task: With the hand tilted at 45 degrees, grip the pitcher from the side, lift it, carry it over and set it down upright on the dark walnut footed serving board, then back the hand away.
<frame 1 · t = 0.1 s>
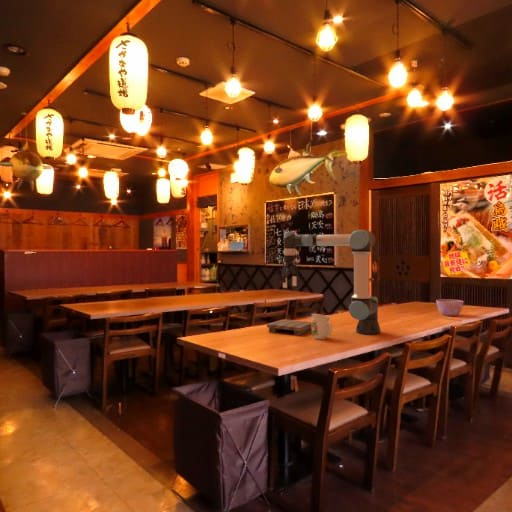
hand: (289, 286, 286), 28 cm above the table, tool pointing down, fingers open, 13 cm apart
purple bowl: (449, 315, 336), on the table
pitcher: (321, 338, 255), on the table
serving board: (291, 330, 278), on the table
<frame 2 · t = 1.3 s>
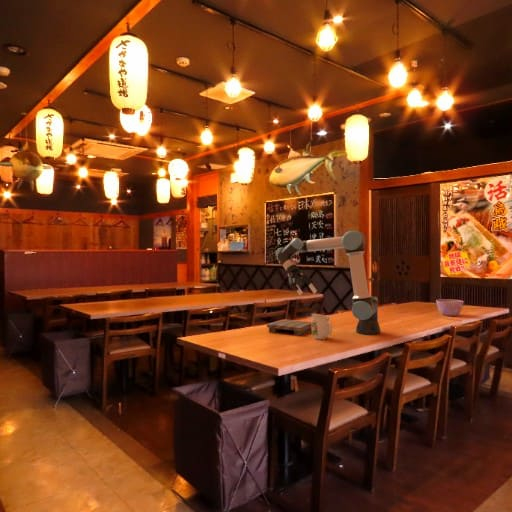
hand: (308, 293, 267), 26 cm above the table, tool tilted 45°, fingers open, 13 cm apart
nothing on the table moved.
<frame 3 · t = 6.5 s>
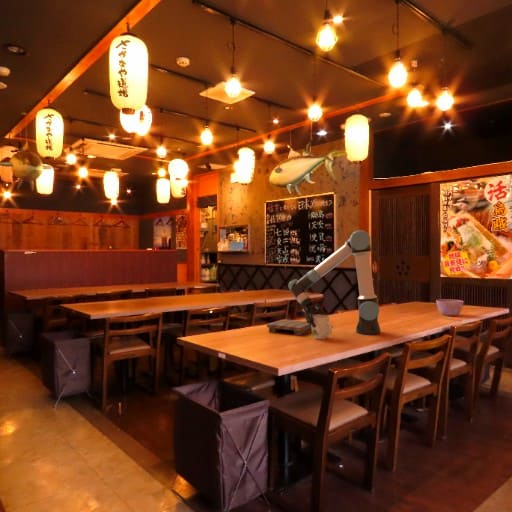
hand: (325, 329, 252), 6 cm above the table, tool tilted 45°, fingers closed on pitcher, 11 cm apart
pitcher: (321, 338, 255), on the table, touching gripper
everything else where it was.
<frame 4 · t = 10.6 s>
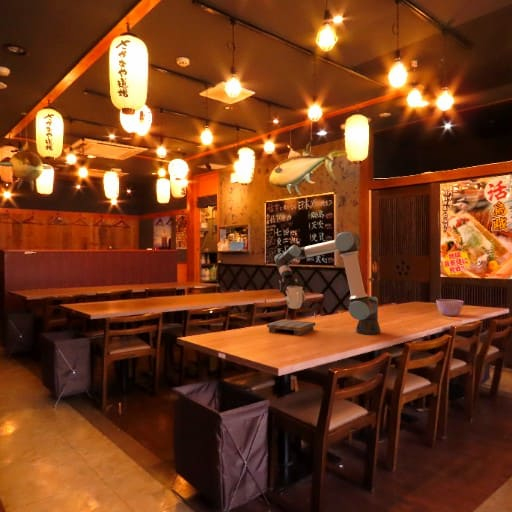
hand: (297, 299, 269), 21 cm above the table, tool tilted 45°, fingers closed on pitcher, 11 cm apart
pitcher: (294, 308, 272), point 16 cm above the table, touching gripper
everything else where it was.
when the fingers open (12 cm above the table, at t = 14.4 s): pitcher drops 1 cm, resting on serving board.
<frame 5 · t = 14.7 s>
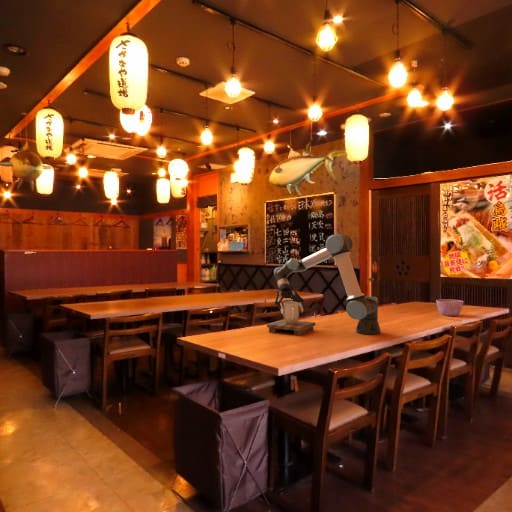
hand: (292, 312, 275), 13 cm above the table, tool tilted 45°, fingers open, 13 cm apart
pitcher: (291, 323, 278), point 5 cm above the table, touching serving board
everything else where it was.
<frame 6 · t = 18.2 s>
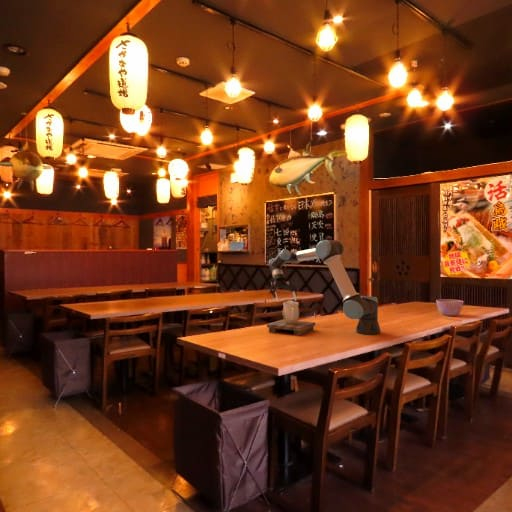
hand: (286, 300, 289), 19 cm above the table, tool tilted 45°, fingers open, 13 cm apart
nothing on the table moved.
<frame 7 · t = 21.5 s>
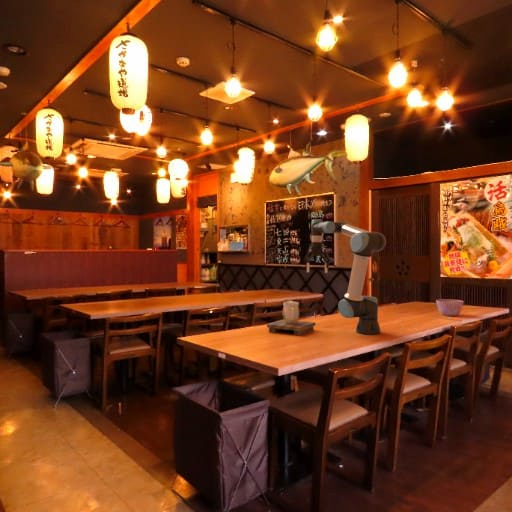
hand: (317, 272, 297), 37 cm above the table, tool pointing down, fingers open, 13 cm apart
nothing on the table moved.
at the end: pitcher inside the target area on the serving board (0.1 cm from its centre), point 4.8 cm above the serving board's base; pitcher tilted 0°; the gripper is holding nothing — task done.
